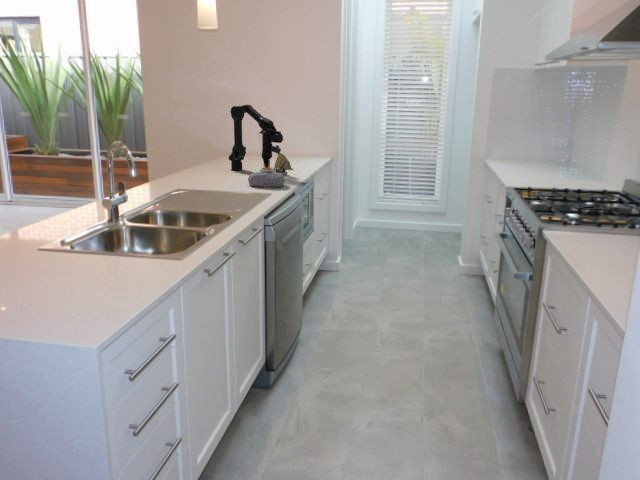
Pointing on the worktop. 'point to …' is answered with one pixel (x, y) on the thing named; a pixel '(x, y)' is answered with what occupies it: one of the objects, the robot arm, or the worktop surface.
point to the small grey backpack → (266, 179)
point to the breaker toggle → (284, 165)
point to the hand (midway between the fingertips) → (266, 167)
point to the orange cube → (268, 166)
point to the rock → (281, 161)
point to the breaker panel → (275, 170)
